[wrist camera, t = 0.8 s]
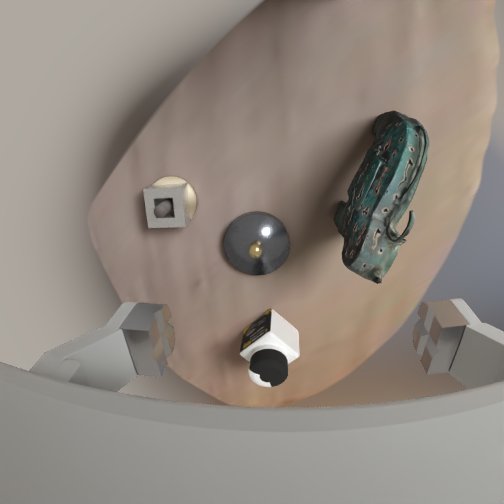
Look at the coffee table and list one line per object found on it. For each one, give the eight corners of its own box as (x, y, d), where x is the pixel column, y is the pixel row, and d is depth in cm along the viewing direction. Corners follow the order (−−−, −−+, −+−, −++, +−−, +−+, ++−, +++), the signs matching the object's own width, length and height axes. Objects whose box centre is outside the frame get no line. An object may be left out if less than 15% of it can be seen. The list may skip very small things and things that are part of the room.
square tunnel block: (150, 184, 48) (143, 189, 45) (187, 182, 47) (181, 186, 44) (155, 221, 50) (148, 227, 47) (191, 220, 49) (185, 227, 47)
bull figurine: (354, 238, 49) (390, 308, 31) (317, 223, 49) (336, 289, 31) (405, 123, 41) (476, 133, 23) (368, 104, 41) (424, 97, 23)
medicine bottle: (271, 307, 55) (268, 352, 44) (299, 330, 57) (301, 377, 46) (243, 329, 58) (234, 375, 47) (270, 351, 59) (267, 397, 48)
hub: (223, 211, 49) (218, 219, 46) (289, 211, 48) (290, 219, 45) (227, 270, 53) (223, 282, 50) (289, 271, 52) (289, 282, 49)
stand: (146, 177, 48) (130, 186, 43) (195, 174, 47) (183, 182, 42) (152, 225, 51) (138, 239, 46) (199, 224, 51) (189, 238, 45)
